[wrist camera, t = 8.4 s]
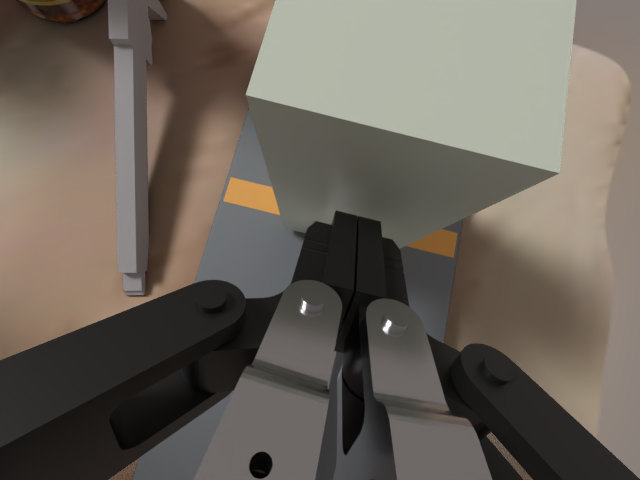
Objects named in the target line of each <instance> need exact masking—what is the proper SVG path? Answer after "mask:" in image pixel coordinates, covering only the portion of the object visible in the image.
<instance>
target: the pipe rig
mask: <svg viewBox="0 0 640 480" xmlns="http://www.w3.org/2000/svg"><path fill="white" fill-rule="evenodd" d="M462 223H463V219H462V220H460V221H458V222H455V223H453V224H451V225H449V226H447V227H445V228H443V229H441V230H439V231H436V232H434V233H432V234H430V235H428V236H426V237H424V238H422V239H419V240H417V241H415V242H413V243H411V244H409V245H407V246H405V247H403V248H400V251H401V257H402V264H403V270H404V271H403V273H404V276H405V282H406V288H407V295H408V301H409V307H410V308H411V309H413V310H414V311H415V312H416V313H417V314H418V316H419V317H420V318H421V320H422V322H423V324H424V327H425V330H426V333H427V334H428V335H430V336H431V337H433V338H434V339H436V340H438V341H440V342H442V343H444V338H445V331H446V325H447V318H448V312H449V306H450V299H451V293H452V287H453V280H454V274H455V267H456V261H457V255H458V248H459V242H460V235H461V229H462ZM305 235H306V233H303V232H299V231H295V230H291V229H286V228H284V226H283V222H282V219H281V216H280V212H279V209H278V205H277V202H276V198H275V195H274V191H273V188H272V184H271V181H270V178H269V174H268V171H267V167H266V164H265V160H264V157H263V153H262V150H261V146H260V143H259V140H258V136H257V133H256V129H255V126H254V122H253V119H252V115H251V112H250V108H249V109H248V112H247V115H246V118H245V122H244V125H243V128H242V131H241V134H240V138H239V141H238V144H237V147H236V150H235V154H234V157H233V160H232V163H231V166H230V170H229V173H228V176H227V179H226V182H225V186H224V189H223V192H222V195H221V198H220V202H219V205H218V208H217V211H216V214H215V218H214V221H213V224H212V227H211V230H210V234H209V237H208V240H207V243H206V246H205V250H204V253H203V256H202V259H201V262H200V266H199V269H198V272H197V275H196V278H195V282H194V283H197V282H200V281H205V280H222V281H226V282H229V283H231V284H234V285H235V286H237V287H238V288H239V289H240V290H241V291H242V292H243V294H244V296H245V298H266V297H271V296H275V295H277V294H279V293H281V292H283V291H284V290H285V289H286V288H287V287H288V286H289V285H290V283H291V281H292V278H293V275H294V271H295V268H296V265H297V261H298V258H299V255H300V251H301V248H302V245H303V241H304V238H305ZM342 365H343V353H340V352H336V351H334V354H333V360H332V365H331V370H330V375H329V381H328V389H329V391H330V395H329V404H328V410H327V416H326V421H325V427H324V433H323V438H322V444H321V450H320V455H319V461H318V466H317V472H316V478H315V480H333V477H334V473H335V468H336V460H337V379H338V375H339V372H340V370H341V367H342ZM233 392H234V391H232V392H231V393H230V394H229V395H228V396H227V397H225V398H224V399H223V400H221V401H220V402H218V403H217V404H215V405H214V406H213V407H211V408H210V409H208V410H207V411H205V412H204V413H203V414H201V415H200V416H198V417H197V418H195V419H194V420H192V421H191V422H190V423H188V424H187V425H185V426H184V427H182V428H181V429H180V430H178V431H177V432H175V433H174V434H172V435H171V436H170V437H168V438H167V439H165V440H164V441H162V442H161V443H160V444H158V445H157V446H155V447H154V448H152V449H151V450H150V451H148V452H147V453H145V454H144V455H142V456H141V457H139V461H138V464H137V467H136V470H135V473H134V477H133V480H194V478H195V475H196V473H197V471H198V469H199V467H200V464H201V462H202V460H203V458H204V456H205V453H206V451H207V449H208V447H209V445H210V442H211V440H212V438H213V436H214V434H215V431H216V429H217V427H218V425H219V423H220V420H221V418H222V416H223V414H224V412H225V409H226V407H227V405H228V403H229V401H230V398H231V396H232V394H233Z"/></svg>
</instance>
